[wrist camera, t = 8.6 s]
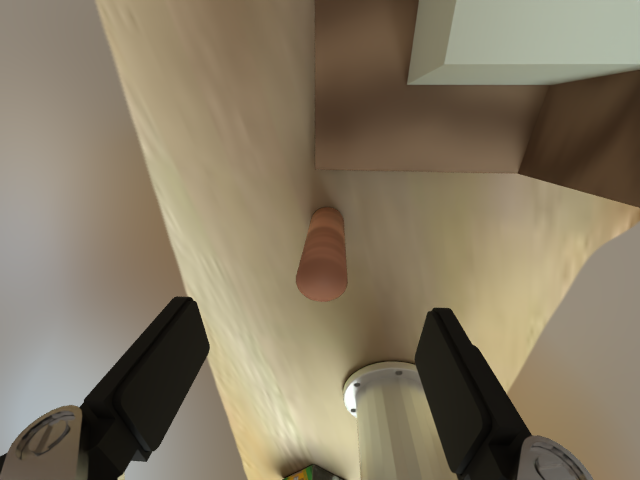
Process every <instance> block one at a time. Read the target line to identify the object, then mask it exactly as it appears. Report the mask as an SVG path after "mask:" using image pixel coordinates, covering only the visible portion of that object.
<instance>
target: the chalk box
mask: <svg viewBox="0 0 640 480" xmlns="http://www.w3.org/2000/svg"><path fill="white" fill-rule="evenodd" d="M283 480H342V479H340V478H338V477H337V476H334V475H333V474H331V473H329V472H327V471H325V470H323V469H321V468H320V467H318V466H316V465H314V464H313V465H311V466H309V467H307V468H305V469H303V470H301V471H299V472H297V473H295V474H293V475H291V476H289V477H287V478H285V479H283Z"/></svg>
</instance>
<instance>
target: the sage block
mask: <svg viewBox="0 0 640 480" xmlns="http://www.w3.org/2000/svg"><path fill="white" fill-rule="evenodd" d="M634 70H640V0H419V4H418V11H417V18H416V25H415V32H414V39H413V46H412V53H411V60H410V67H409V74H408V81H407V85H555V84H561V83H566V82H572V81H578V80H583V79H589V78H595V77H600V76H606V75H612V74H617V73H623V72H629V71H634Z"/></svg>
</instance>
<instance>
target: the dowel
mask: <svg viewBox="0 0 640 480" xmlns="http://www.w3.org/2000/svg"><path fill="white" fill-rule="evenodd" d="M296 284H297V287H298V289H299V290H300V292H301V293H302V294H303V295H304V296H306V297H307V298H309V299H311V300H315V301H320V302H326V301H331V300H334V299H336V298H338V297H339V296H341V295H342V294H343V293H344V291H345V289H346V287H347V266H346V250H345V234H344V220H343V217H342V215H341V213H340V212H339V211H338V210H336V209H334V208H331V207H323V208H320V209H318V210H317V211H316V212H315V213H314V214H313V216H312V218H311V222H310V226H309V230H308V234H307V237H306V241H305V245H304V249H303V252H302V256H301V260H300V264H299V268H298V271H297V275H296Z"/></svg>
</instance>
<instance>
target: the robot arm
mask: <svg viewBox="0 0 640 480" xmlns="http://www.w3.org/2000/svg"><path fill="white" fill-rule="evenodd" d="M209 349H210V345H209V342H208V338H207V335H206V332H205V328H204V325H203V322H202V318H201V315H200V312H199V309H198V305H197V303H196V301H193V299H192V298H191V297H174V298H173V299H172V300H171V301H170V303H169V304H168V305H167V306H166V307H165V308H164V309H163V310H162V312H161V313H160V314H159V315H158V316H157V317H156V318H155V320H154V321H153V322H152V323H151V324H150V325H149V326H148V328H147V329H146V330H145V331H144V332H143V333H142V334H141V335H140V337H139V338H138V339H137V340H136V341H135V342H134V343H133V345H132V346H131V347H130V348H129V349H128V350H127V351H126V352H125V354H124V355H123V356H122V357H121V358H120V359H119V360H118V362H117V363H116V364H115V365H114V366H113V367H112V369H111V370H110V371H109V372H108V373H107V374H106V375H105V376H104V377H103V379H102V380H101V381H100V382H99V383H98V384H97V385H96V387H95V388H94V389H93V390H92V391H91V392H90V394H89V395H88V396H87V397H86V398H85V399H84V403H83V404H82V405H81V406H80V407H78V406H74V405H69V406H62V407H59V408H57V409H54V410H51V411H50V412H48V413H46V414H44V415H43V416H41V417H39V418H38V419H37V420H35V421H34V422H33V423H31V424H30V425H29V426H28V427H27V428H26V429H24V430H23V431H22V432H21V433H20V434H19V436H18V437H17V438H16V439H15V441H14V442H13V443H12V445H11V447H10V449H9V451H8V453H6V454H4V455H2V456H0V480H124V471H125V470H126V468H127V466H128V464H129V463H130V461H143V462H147V460H148V458H149V456H150V455H151V453H152V451H155V450H156V449H157V448H158V447H159V445H160V444H161V442H162V440H163V438H164V436H165V434H166V432H167V431H168V429H169V427H170V425H171V423H172V421H173V419H174V417H175V415H176V414H177V412H178V410H179V408H180V406H181V404H182V402H183V400H184V398H185V396H186V395H187V393H188V391H189V389H190V387H191V385H192V383H193V381H194V380H195V378H196V376H197V374H198V372H199V370H200V368H201V366H202V364H203V363H204V361H205V359H206V357H207V355H208V353H209ZM415 364H416V365H414V364H410V363H406V362H396V361H394V362H381V363H375V364H372V365H369V366H366V367H364V368H362V369H360V370H358V371H357V372H355V373H354V374H352V375H351V376H350V378H349V379H348V380H347V382H346V383H345V385H344V389H343V400H344V404H345V406H346V408H347V410H348V411H349V412H350V413H351V414H352V415H353V416H355V417H356V418H357V430H358V445H359V460H360V475H361V480H593V478H592V476H591V474H590V473H589V472H588V471H587V469H586V468H585V467H584V465H583V464H582V463H581V462H580V461H579V460H578V459H577V458H576V457H575V456H574V455H573V454H571V452H570V451H568V450H567V449H565V448H564V447H563V446H561V445H560V444H558V443H556V442H555V441H552V440H551V439H549V438H545V437H542V436H532V435H531V433H530V432H529V430H528V428H527V427H526V425H525V423H524V422H523V420H522V418H521V417H520V415H519V413H518V412H517V410H516V409H515V407H514V405H513V404H512V402H511V400H510V399H509V397H508V396H507V394H506V392H505V391H504V389H503V387H502V386H501V384H500V383H499V381H498V379H497V378H496V376H495V375H494V373H493V371H492V370H491V368H490V366H489V365H488V363H487V362H486V360H485V358H484V357H483V355H482V353H481V352H480V351H479V349H478V348H477V347H476V346H474V345H472V343H471V341H470V340H469V338H468V336H467V335H466V333H465V331H464V330H463V328H462V326H461V325H460V323H459V321H458V320H457V318H456V316H455V315H454V313H453V311H452V310H451V309H449V308H433V309H432V311H429V312H428V313H427V316H426V320H425V323H424V327H423V330H422V334H421V337H420V340H419V344H418V347H417V351H416V354H415Z"/></svg>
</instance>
